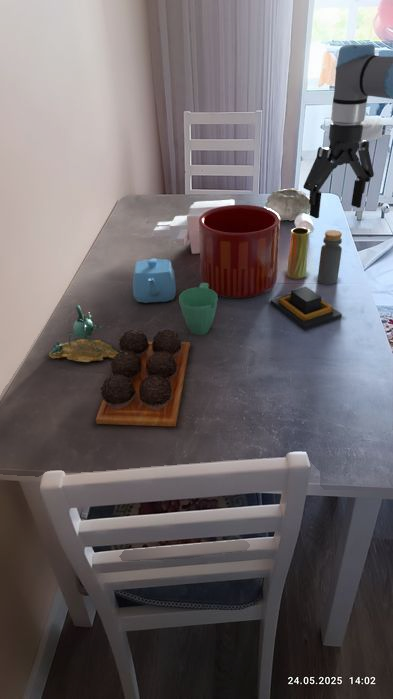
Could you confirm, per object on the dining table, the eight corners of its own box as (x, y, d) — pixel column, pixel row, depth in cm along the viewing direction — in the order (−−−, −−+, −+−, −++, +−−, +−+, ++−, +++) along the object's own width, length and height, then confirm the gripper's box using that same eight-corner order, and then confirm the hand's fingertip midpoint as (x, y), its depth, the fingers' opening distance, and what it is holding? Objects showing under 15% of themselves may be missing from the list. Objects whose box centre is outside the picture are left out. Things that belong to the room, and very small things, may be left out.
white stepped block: (167, 235, 184) (240, 231, 178) (151, 263, 165) (232, 261, 159) (161, 196, 176) (237, 192, 170) (143, 222, 156) (229, 217, 150)
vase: (282, 274, 150) (285, 231, 142) (294, 268, 154) (298, 225, 145) (298, 280, 147) (302, 236, 138) (310, 274, 150) (315, 230, 141)
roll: (297, 240, 171) (299, 225, 167) (293, 227, 180) (294, 213, 177) (315, 240, 170) (316, 225, 167) (309, 227, 180) (311, 212, 177)
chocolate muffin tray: (176, 427, 98) (173, 396, 93) (96, 424, 100) (89, 394, 95) (189, 347, 121) (187, 318, 116) (124, 346, 122) (120, 318, 117)
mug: (215, 341, 122) (214, 307, 116) (177, 338, 124) (174, 305, 118) (223, 311, 134) (223, 279, 128) (188, 309, 136) (186, 277, 130)
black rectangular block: (320, 309, 130) (321, 296, 128) (305, 314, 129) (306, 301, 126) (304, 298, 136) (305, 286, 133) (289, 303, 134) (290, 290, 131)
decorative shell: (317, 222, 183) (320, 196, 177) (273, 228, 181) (274, 202, 175) (299, 207, 198) (301, 182, 192) (258, 212, 195) (259, 187, 189)
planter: (251, 259, 160) (253, 199, 148) (291, 288, 143) (297, 223, 131) (188, 275, 152) (185, 213, 140) (222, 308, 135) (222, 240, 123)
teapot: (132, 315, 134) (127, 278, 128) (136, 284, 149) (132, 250, 142) (176, 313, 134) (173, 276, 128) (176, 282, 149) (174, 248, 142)
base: (341, 317, 129) (342, 310, 128) (305, 330, 125) (305, 322, 123) (304, 292, 141) (305, 285, 139) (270, 303, 137) (270, 296, 135)
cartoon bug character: (59, 340, 126) (53, 290, 117) (125, 351, 124) (124, 301, 115) (43, 361, 118) (35, 310, 109) (113, 374, 116) (111, 322, 108)
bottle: (314, 281, 146) (319, 234, 137) (322, 273, 150) (327, 227, 141) (332, 286, 143) (339, 238, 134) (340, 278, 147) (347, 231, 138)
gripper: (376, 113, 119) (362, 198, 132) (293, 126, 111) (286, 216, 123) (399, 117, 114) (382, 206, 126) (313, 132, 105) (305, 225, 118)
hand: (335, 211), depth 125 cm, fingers open, 13 cm apart
